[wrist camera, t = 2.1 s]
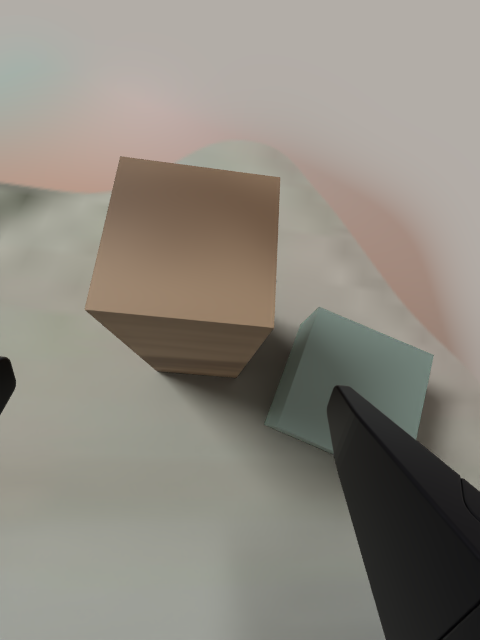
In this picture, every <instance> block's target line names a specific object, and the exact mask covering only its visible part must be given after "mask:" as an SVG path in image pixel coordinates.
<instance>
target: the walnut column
mask: <svg viewBox="0 0 480 640" xmlns="http://www.w3.org/2000/svg"><path fill="white" fill-rule="evenodd" d="M279 194H280V177H272V176H265V175H257V174H250V173H242V172H234V171H227V170H219V169H212V168H204V167H197V166H189V165H181V164H174V163H166V162H158V161H150V160H144V159H135V158H128V157H120V160H119V164H118V169H117V173H116V177H115V181H114V186H113V190H112V194H111V199H110V203H109V207H108V211H107V216H106V220H105V224H104V228H103V233H102V237H101V241H100V246H99V250H98V254H97V258H96V263H95V267H94V271H93V275H92V280H91V284H90V288H89V293H88V297H87V301H86V305H85V310H86V311H87V312H88V313H89V314H90V315H92V316H93V317H94V318H95V319H96V320H97V321H99V322H100V323H101V324H102V325H103V326H104V327H106V328H107V329H108V330H109V331H110V332H112V333H113V334H114V335H115V336H116V337H117V338H119V339H120V340H121V341H122V342H123V343H124V344H126V345H127V346H128V347H129V348H130V349H132V350H133V351H134V352H135V353H136V354H137V355H139V356H140V357H141V358H142V359H143V360H144V361H146V362H147V363H148V364H149V365H150V366H151V367H153V368H154V369H155V370H156V371H160V372H172V373H184V374H196V375H208V376H220V377H231V378H237V376H238V375H239V374H240V372H241V371H242V370H243V368H244V367H245V366H246V364H247V363H248V362H249V360H250V359H251V358H252V356H253V355H254V354H255V352H256V351H257V350H258V348H259V347H260V346H261V344H262V343H263V342H264V340H265V339H266V338H267V336H268V335H269V334H270V333H271V331H272V330H273V329H274V315H275V291H276V267H277V243H278V218H279Z"/></svg>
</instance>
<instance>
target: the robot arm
mask: <svg viewBox="0 0 480 640" xmlns="http://www.w3.org/2000/svg"><path fill="white" fill-rule="evenodd" d="M15 387H16V379H15V376H14V372H13V368H12V365H11V362H10V360H9V359H8V358H7V357H1V356H0V415H1V413H2V411H3V409H4V407H5V406H6V404H7V402H8V400H9V399H10V397H11V395H12V393H13V392H14V390H15ZM327 418H328V424H329V430H330V435H331V441H332V447H333V453H334V458H335V463H336V467H337V471H338V475H339V478H340V482H341V485H342V489H343V492H344V495H345V499H346V502H347V506H348V509H349V513H350V516H351V520H352V523H353V527H354V530H355V534H356V537H357V541H358V544H359V548H360V551H361V555H362V558H363V562H364V565H365V569H366V572H367V575H368V579H369V582H370V586H371V589H372V593H373V596H374V600H375V603H376V607H377V610H378V614H379V617H380V621H381V624H382V628H383V631H384V635H385V638H386V640H480V491H478V490H477V489H476V488H475V487H473V486H472V485H471V484H470V483H468V482H467V481H466V480H465V479H463V478H460V475H459V474H457V473H456V472H455V471H454V470H452V469H451V468H450V467H449V466H447V465H446V464H445V463H444V462H443V461H441V460H440V459H439V458H438V457H436V456H435V455H434V454H433V453H431V452H430V451H429V450H428V449H427V448H425V447H424V446H423V445H422V444H420V443H419V442H418V441H417V440H415V439H414V438H413V437H412V436H410V435H409V434H408V433H407V432H406V431H404V430H403V429H402V428H401V427H399V426H398V425H397V424H396V423H394V422H393V421H392V420H391V419H390V418H388V417H387V416H386V415H385V414H383V413H382V412H381V411H380V410H378V409H377V408H376V407H375V406H374V405H372V404H371V403H370V402H369V401H367V400H366V399H365V398H364V397H362V396H361V395H360V394H359V393H358V392H356V391H355V390H354V389H353V388H351V387H350V386H345V385H336V386H334V388H333V390H332V393H331V396H330V399H329V402H328V405H327Z"/></svg>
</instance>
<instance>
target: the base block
mask: <svg viewBox="0 0 480 640" xmlns="http://www.w3.org/2000/svg"><path fill="white" fill-rule="evenodd" d="M433 356H434V355H432V354H430V353H428V352H425V351H423V350H420V349H418V348H416V347H413V346H411V345H409V344H406V343H404V342H401V341H399V340H397V339H394V338H392V337H390V336H387V335H385V334H382V333H380V332H378V331H375V330H373V329H370V328H368V327H366V326H363V325H361V324H359V323H356V322H354V321H351V320H349V319H347V318H344V317H342V316H340V315H337V314H335V313H332V312H330V311H328V310H325V309H323V308H321V307H318V308H317V309H316V310H315V311H314V312H313V313H312V314H311V315H310V316H309V317H308V318H307V319H306V320H305V321H304V322H303V323H302V324H301V325H300V327H299V330H298V333H297V336H296V338H295V341H294V344H293V347H292V349H291V352H290V355H289V358H288V360H287V363H286V366H285V369H284V371H283V374H282V377H281V380H280V382H279V385H278V388H277V391H276V393H275V396H274V399H273V402H272V404H271V407H270V410H269V413H268V415H267V418H266V421H265V424H264V425H266V426H269V427H271V428H273V429H275V430H278V431H280V432H282V433H285V434H287V435H289V436H292V437H294V438H296V439H299V440H301V441H303V442H306V443H308V444H310V445H313V446H315V447H317V448H320V449H322V450H324V451H326V452H329V453H331V454H333V455H334V453H333V447H332V441H331V435H330V430H329V424H328V418H327V405H328V402H329V399H330V396H331V393H332V390H333V388H334V386H336V385H345V386H350V387H351V388H353V389H354V390H355V391H356V392H358V393H359V394H360V395H361V396H362V397H364V398H365V399H366V400H367V401H369V402H370V403H371V404H372V405H374V406H375V407H376V408H377V409H378V410H380V411H381V412H382V413H383V414H385V415H386V416H387V417H388V418H390V419H391V420H392V421H393V422H394V423H396V424H397V425H398V426H399V427H401V428H402V429H403V430H404V431H406V432H407V433H408V434H409V435H410V436H412V437H413V438H414V439H415V440H416V438H417V433H418V428H419V423H420V419H421V414H422V409H423V404H424V399H425V394H426V390H427V385H428V380H429V375H430V370H431V366H432V361H433Z"/></svg>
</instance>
